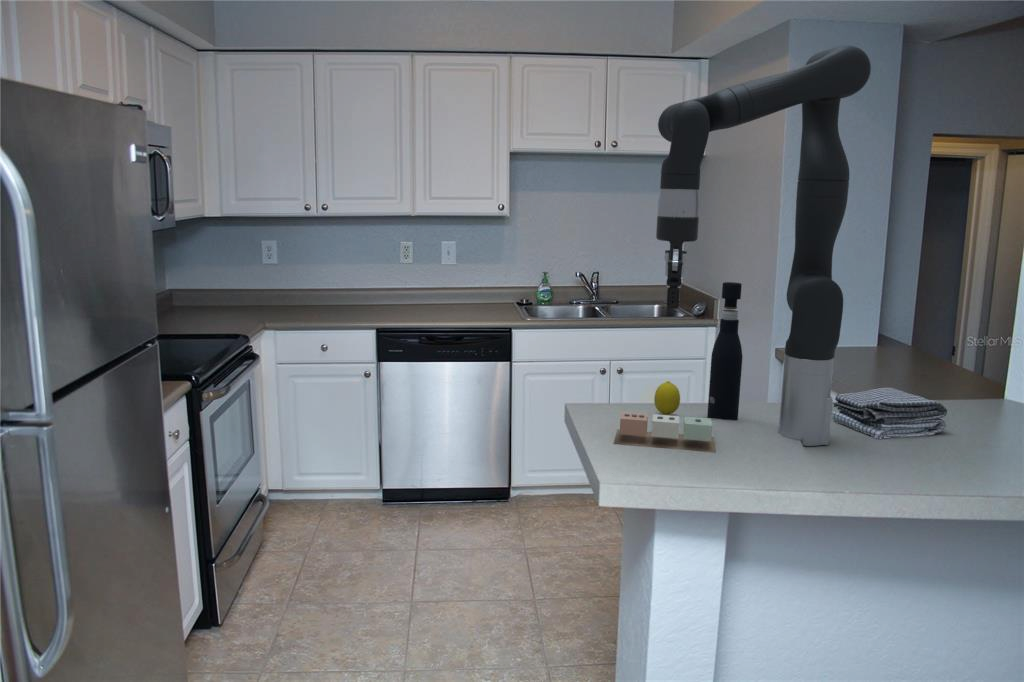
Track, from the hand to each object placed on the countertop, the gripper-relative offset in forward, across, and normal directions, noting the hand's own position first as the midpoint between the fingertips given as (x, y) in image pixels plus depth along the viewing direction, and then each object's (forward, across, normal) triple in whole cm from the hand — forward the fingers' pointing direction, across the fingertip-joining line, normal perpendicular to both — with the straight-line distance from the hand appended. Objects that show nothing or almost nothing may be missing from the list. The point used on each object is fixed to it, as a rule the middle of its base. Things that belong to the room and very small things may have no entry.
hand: (672, 308), depth 150 cm
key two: (+24, -1, 0) cm, 24 cm away
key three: (+24, -1, +6) cm, 25 cm away
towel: (+28, +27, -46) cm, 60 cm away
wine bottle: (+27, +22, -12) cm, 37 cm away
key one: (+24, -1, -6) cm, 25 cm away
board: (+27, 0, 0) cm, 27 cm away
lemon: (+27, +22, 0) cm, 35 cm away
